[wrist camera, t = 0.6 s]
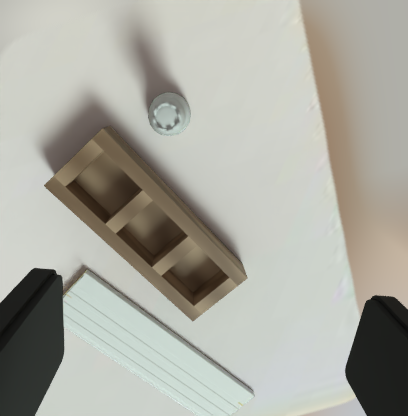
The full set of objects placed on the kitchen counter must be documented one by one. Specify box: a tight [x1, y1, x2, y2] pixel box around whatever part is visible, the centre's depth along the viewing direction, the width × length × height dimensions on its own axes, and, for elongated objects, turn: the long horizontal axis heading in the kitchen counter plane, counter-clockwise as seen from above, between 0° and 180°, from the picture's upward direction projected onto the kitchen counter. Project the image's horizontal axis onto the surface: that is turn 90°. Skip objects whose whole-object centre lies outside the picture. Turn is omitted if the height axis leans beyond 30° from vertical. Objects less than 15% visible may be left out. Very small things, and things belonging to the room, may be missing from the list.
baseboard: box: [63, 269, 254, 416], centre depth 44 cm, size 30×3×10 cm
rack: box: [44, 126, 247, 321], centre depth 37 cm, size 9×23×4 cm, turn 41°
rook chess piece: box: [148, 92, 191, 136], centre depth 32 cm, size 4×4×8 cm
